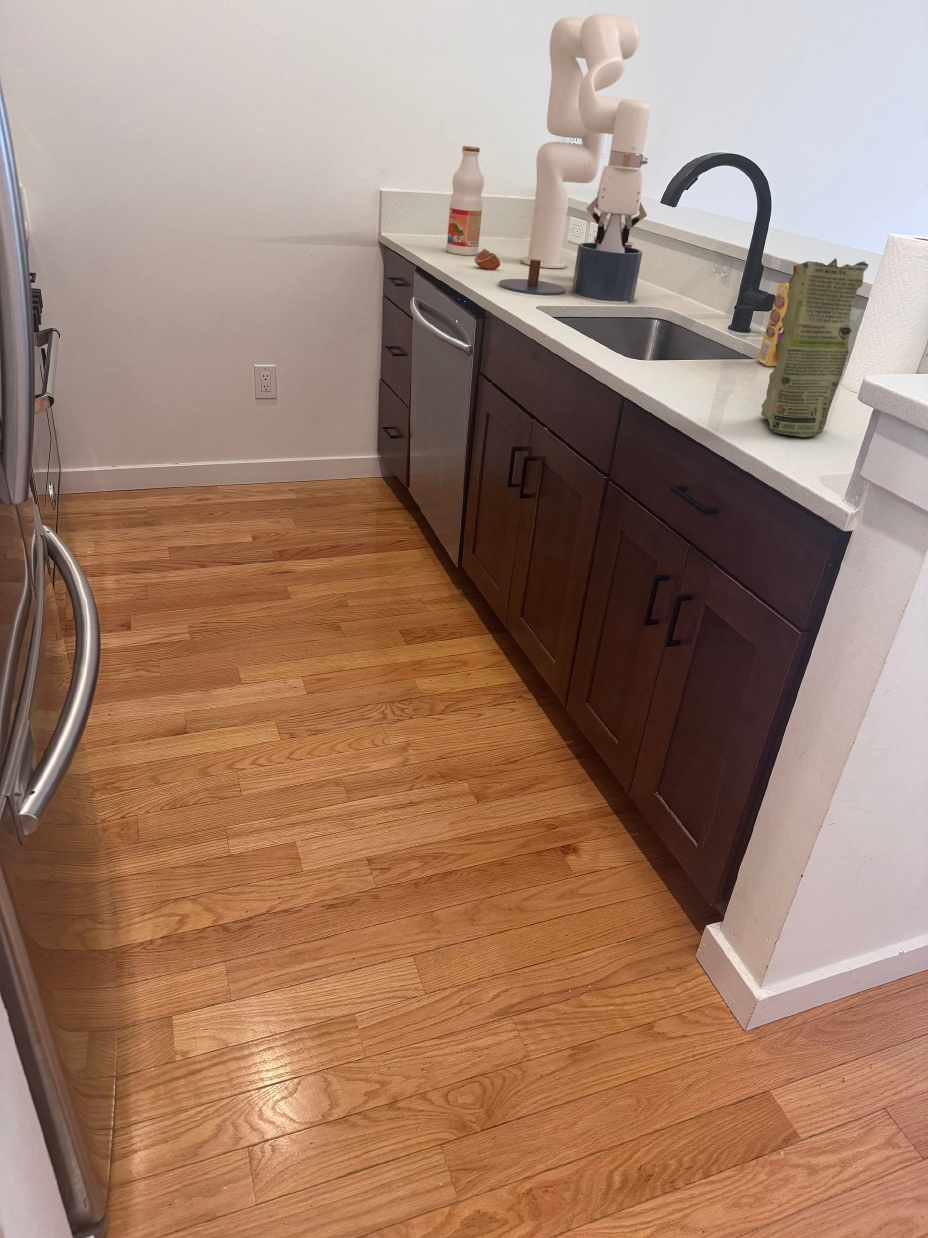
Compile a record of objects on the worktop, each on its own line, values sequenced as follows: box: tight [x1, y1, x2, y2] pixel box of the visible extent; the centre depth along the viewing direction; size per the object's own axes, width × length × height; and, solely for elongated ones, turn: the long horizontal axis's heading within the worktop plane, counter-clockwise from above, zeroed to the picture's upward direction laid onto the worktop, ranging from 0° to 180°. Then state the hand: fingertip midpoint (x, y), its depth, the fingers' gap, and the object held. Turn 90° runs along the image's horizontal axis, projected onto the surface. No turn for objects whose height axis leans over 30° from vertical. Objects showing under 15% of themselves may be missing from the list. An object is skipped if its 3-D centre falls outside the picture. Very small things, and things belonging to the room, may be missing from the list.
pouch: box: [760, 257, 869, 438], centre depth 132 cm, size 11×12×25 cm
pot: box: [571, 241, 643, 304], centre depth 218 cm, size 16×16×12 cm
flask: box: [596, 214, 625, 253], centre depth 213 cm, size 7×7×10 cm
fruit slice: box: [474, 248, 501, 271], centre depth 237 cm, size 8×7×5 cm
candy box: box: [757, 281, 789, 367], centre depth 171 cm, size 9×4×15 cm, turn 103°
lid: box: [498, 259, 566, 296], centre depth 217 cm, size 17×17×7 cm
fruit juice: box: [446, 145, 485, 256], centre depth 254 cm, size 9×9×28 cm
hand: (611, 243), depth 214 cm, fingers closed on flask, 4 cm apart
